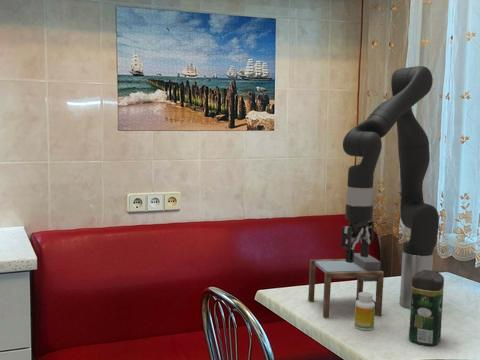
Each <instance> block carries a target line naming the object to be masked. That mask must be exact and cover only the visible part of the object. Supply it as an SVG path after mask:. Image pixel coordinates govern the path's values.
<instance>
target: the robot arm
mask: <svg viewBox="0 0 480 360" xmlns="http://www.w3.org/2000/svg"><path fill="white" fill-rule="evenodd" d="M433 79H434V78H433V74H432V71H431V69H429V68H428V67H427V66H422V65H418V66H417V65H416V66H410V67H401V68H398V69H395V70H394V71H393V73H392V75H391V81H390V84H391V94H392V96H391V97H390V98H388V99H386V100H385V101H383V102H381V103H380V104H378V106H377V107H375V109H373V111H372V112H371V113H370V114H369V116H368V117H367V118H366V119H365V120H363V121H362V122H360V123H359V124H357V125H356V126H354V127H353V128H351V129H350V130H349V131H348V132H347V133H346V134H345V135H344V138H343V140H342V149H343V151H344V153H345V154H347V155H348V156H350V157H360V158H362V159H361V161H360V163H359V164H355V165H352V166H349V167H348V171H347V188H346V192H345V210H344V212H345V215H344V216H345V219H346V220H348V221H349V223H348V226H347V225H342V228H341V241H340V247H341V248H343V249H345V258H344V259H345V261H346V262H348V263H353V262H354V253H355V247H356V244H358V243H359V242H360V249H359V250H360V252H359V253H360V256H361V257H368V254H369V250H370V248H369V247H370V244H371V242H373V241H374V229H375V227H374V224H375V222H374V219H373V218H374V217H373V216H374V214H373V213H374V178H375V177H374V175H375V170H376V167H377V164H378V161H379V157H380V155H381V151H382V145H383V144H382V143H383V142H382V138H384V137H385V136H387V134H388V133H389V132H390V130H391V129H392V128H393V127H394V125H395V124H396V130H397V150H398V161H399V175H400V177H399V179H400V207H399V212H400V214H399V215H400V221H401V223H402V224H403V225H404V226H405V227H406V228H407V229H410V236H409V240H406V241H403V245H402V259H401V272H400V273H401V275H400V276H401V277H400V289H399V291H400V292H399V293H400V294H399V304H400V305H401V306H402V307H404V308H406V309H407V308H408V309H410V310H411V290H412V277H413V276H414V275H415V274H416V273H417V272H420V271H423V270H431V271H433V263H434V262H433V261H434V260H433V259H434V250H435V248H436V246H437V243H438V235H439V226H440V216H439V211H438V210H437V208H436V207H435V206H433V205H432V204H429V203H425V200H424V193H423V187H424V186H423V185H424V180H425V177H426V174H427V171H428V169H429V165H430V162H431V161H430V158H431V157H430V155H431V153H430V141H429V137H428V135H427V133H426V131H425V130H424V128H423V127H422V126H421V124H420V123H419V120H417V118H416V117H415V115H414V114H415V113H414V112H413V106H415V105H416V104H417V103H418V102H420V101H421V100H422V99H423V98H424V97H425V96H427V95H428V94H429V93H430V91H431V89H432V87H433V83H434V81H433Z"/></svg>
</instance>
